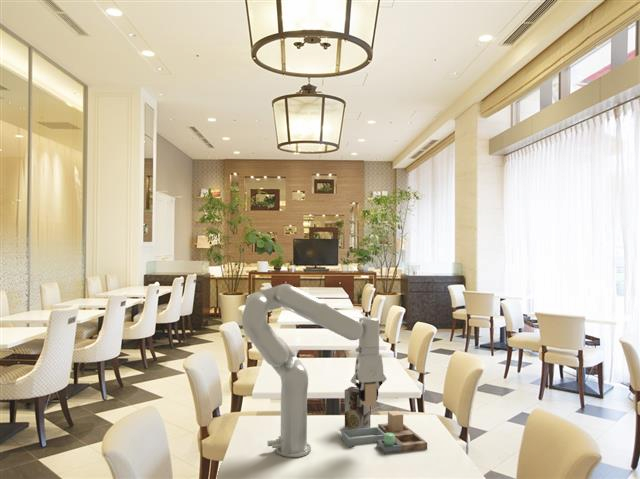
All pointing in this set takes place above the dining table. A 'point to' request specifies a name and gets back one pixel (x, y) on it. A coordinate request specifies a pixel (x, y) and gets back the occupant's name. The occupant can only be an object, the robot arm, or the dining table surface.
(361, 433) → the tote frame
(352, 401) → the coffee box
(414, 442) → the brown divided tray
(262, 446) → the dining table surface
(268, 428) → the dining table surface
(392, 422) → the seated block
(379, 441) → the grey square socket
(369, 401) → the block
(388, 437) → the button
